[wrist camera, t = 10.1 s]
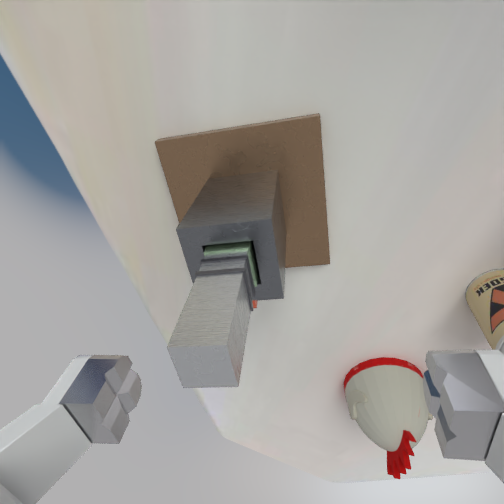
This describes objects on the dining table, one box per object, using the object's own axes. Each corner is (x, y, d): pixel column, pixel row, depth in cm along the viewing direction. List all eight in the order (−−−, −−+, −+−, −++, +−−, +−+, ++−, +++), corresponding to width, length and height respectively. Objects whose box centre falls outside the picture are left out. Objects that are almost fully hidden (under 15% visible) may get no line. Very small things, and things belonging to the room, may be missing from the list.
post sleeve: (319, 113, 40) (331, 147, 27) (329, 258, 50) (341, 335, 37) (158, 139, 44) (100, 180, 30) (197, 269, 54) (166, 343, 40)
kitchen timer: (332, 397, 66) (342, 482, 53) (360, 349, 59) (379, 434, 46) (402, 414, 66) (428, 502, 54) (438, 368, 59) (478, 458, 46)
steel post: (257, 210, 39) (228, 342, 22) (263, 244, 41) (241, 388, 24) (219, 214, 39) (163, 345, 22) (227, 247, 42) (181, 389, 24)
